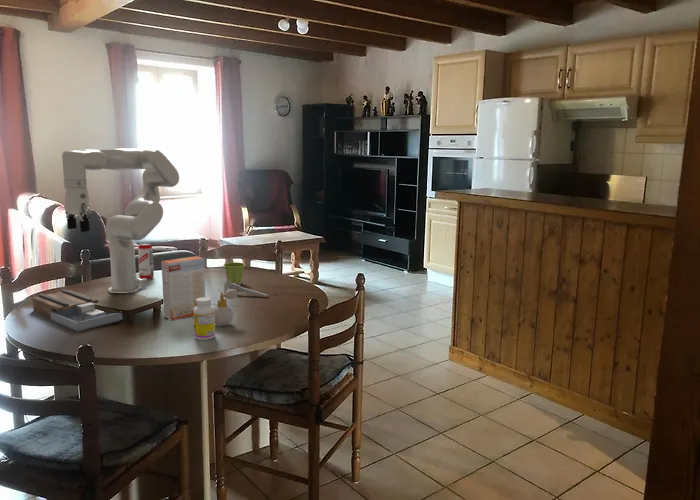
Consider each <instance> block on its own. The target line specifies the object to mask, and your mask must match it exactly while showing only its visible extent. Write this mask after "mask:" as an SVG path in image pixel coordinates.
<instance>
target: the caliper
mask: <svg viewBox="0 0 700 500" xmlns="http://www.w3.org/2000/svg"><path fill="white" fill-rule="evenodd" d="M230 282H231V280H230V281H229V280H227V279H226V281H225V282H224V285H223V294H225V292H226V291H228V290H229V289H235V290H236V291H237V292H238V293H240V292H243V293H246V294H250V295H253V296H256V295H262V296H269V294H267V293H263V292H261V291H256V290H253V289H251V288H245V287H243V286H241V284H234V283H230Z"/></svg>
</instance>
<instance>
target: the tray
mask: <svg viewBox="0 0 700 500" xmlns="http://www.w3.org/2000/svg"><path fill="white" fill-rule="evenodd" d="M120 320H122V321H123V313H122V314H121V313H106V316H102V317H97V318H93V319H89V320H85V321H81V320H78V318H77V307H75V308H70V309H66V310H61V311H53V312H51V318H50V321H52V322H55V323H57V324H59V325H61V326H62V327H65V328H67V329H70V330H72V331H74V332H78V333H79V332H82V331H86V330H89V329H93V328H98V327H102V326H105V325H110V324H114V323H118V322H121V321H120Z"/></svg>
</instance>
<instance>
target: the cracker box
mask: <svg viewBox="0 0 700 500" xmlns="http://www.w3.org/2000/svg"><path fill="white" fill-rule="evenodd" d="M161 279H162V280H161V281H162V295H163V296H162V298H163V299H162V301H163V314H164V315H163V316H164V318H165V317H166V319H167V318H168V319H167V320H169V319H170V321H175V319H177V320H180V318H181V319H184V318H189V316H190V317H193V309H194V308H195V307H196V306H197V304H196V299H197V298H201V297H207V296H206V274H205V258H204V257H200V256H198V255H195V256H189V257H181V258H176V259H175V258H174V259H168V260H161Z"/></svg>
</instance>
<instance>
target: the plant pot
mask: <svg viewBox="0 0 700 500" xmlns="http://www.w3.org/2000/svg"><path fill="white" fill-rule="evenodd" d="M222 265H223V267H224V271H225V275H226V281H227V280H229V281H230V280H231V282H230V283H240V282H243V275H244V273H243V272H244V269H245V267H246V264H245V263H244V262H237V261H236V262H235V261H233V262H226V263H224V264H222Z"/></svg>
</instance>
